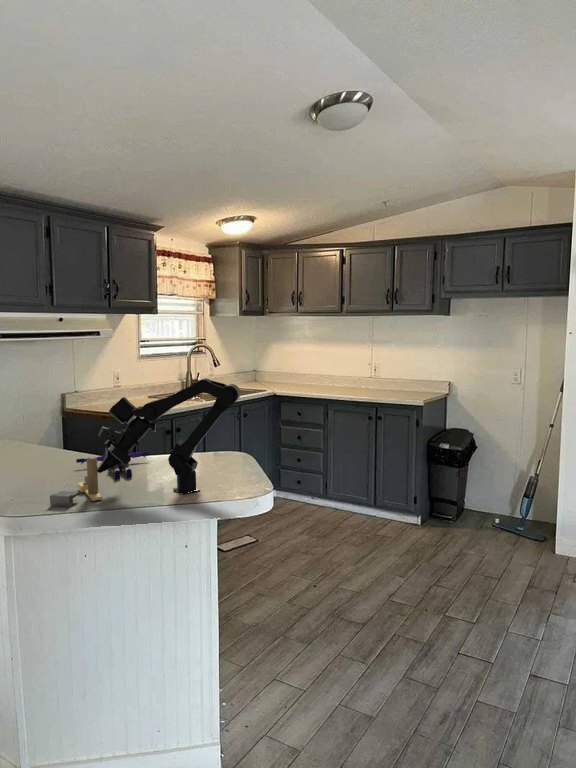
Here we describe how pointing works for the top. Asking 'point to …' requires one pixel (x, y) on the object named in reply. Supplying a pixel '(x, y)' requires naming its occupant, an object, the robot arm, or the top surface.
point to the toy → (119, 466)
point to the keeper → (63, 498)
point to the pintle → (86, 481)
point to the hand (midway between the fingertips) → (98, 472)
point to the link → (91, 480)
